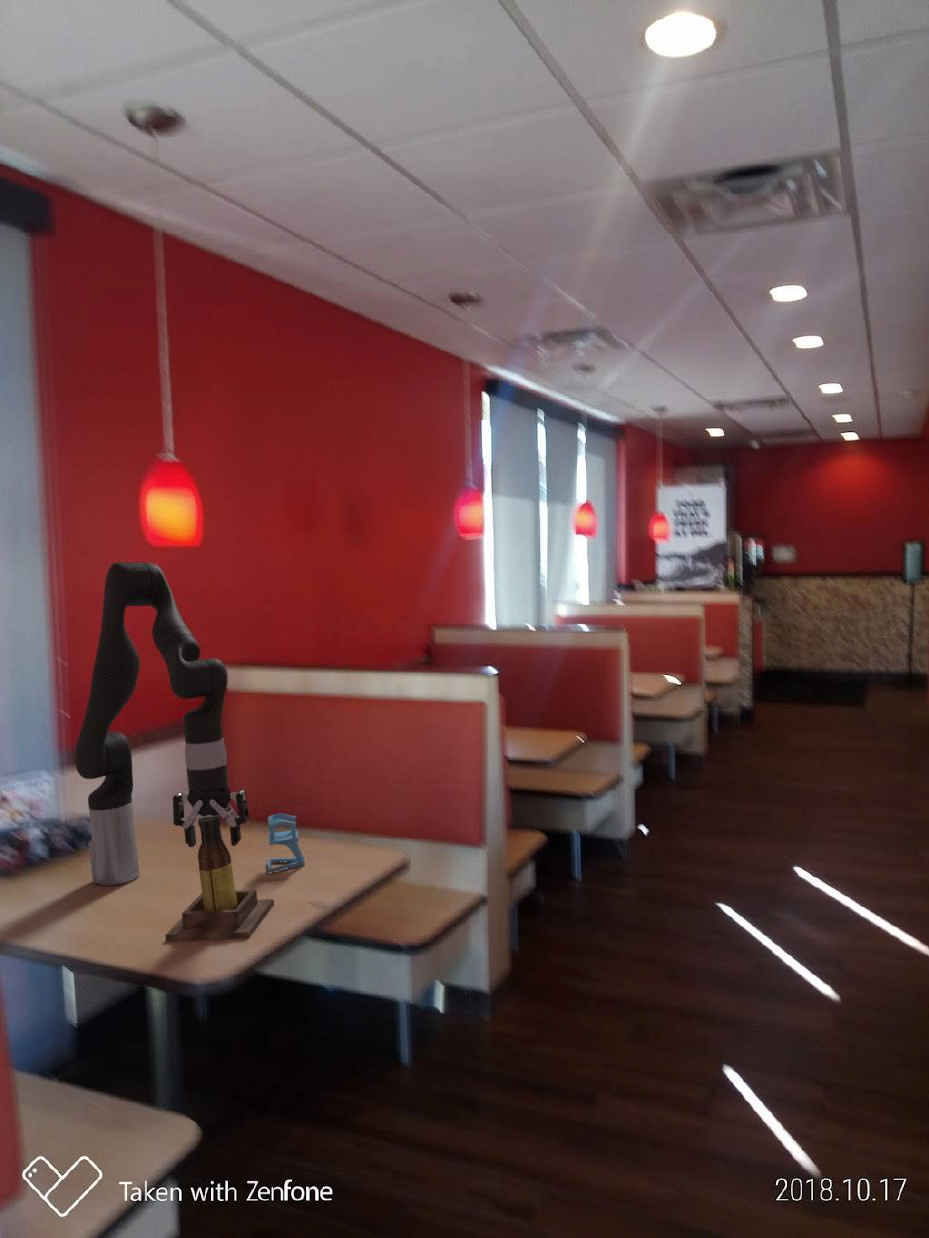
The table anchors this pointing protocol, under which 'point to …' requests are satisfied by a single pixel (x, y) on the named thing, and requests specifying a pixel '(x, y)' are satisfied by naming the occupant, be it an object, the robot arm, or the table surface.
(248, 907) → the bottle caddy
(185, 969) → the table surface
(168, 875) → the table surface
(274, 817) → the chair
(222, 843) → the sauce bottle
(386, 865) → the table surface
